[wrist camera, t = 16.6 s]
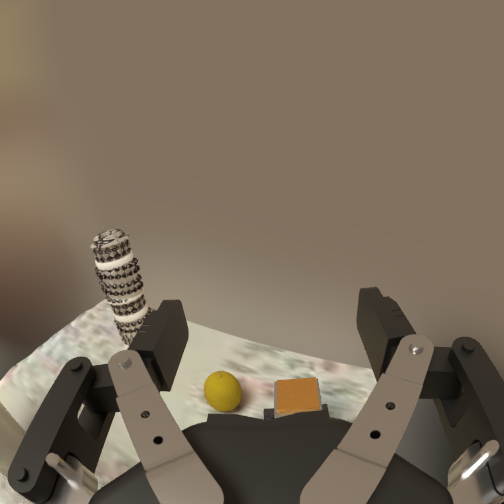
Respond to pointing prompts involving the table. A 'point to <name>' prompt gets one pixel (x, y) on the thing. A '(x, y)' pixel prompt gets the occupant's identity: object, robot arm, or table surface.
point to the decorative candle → (120, 282)
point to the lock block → (296, 396)
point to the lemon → (222, 391)
